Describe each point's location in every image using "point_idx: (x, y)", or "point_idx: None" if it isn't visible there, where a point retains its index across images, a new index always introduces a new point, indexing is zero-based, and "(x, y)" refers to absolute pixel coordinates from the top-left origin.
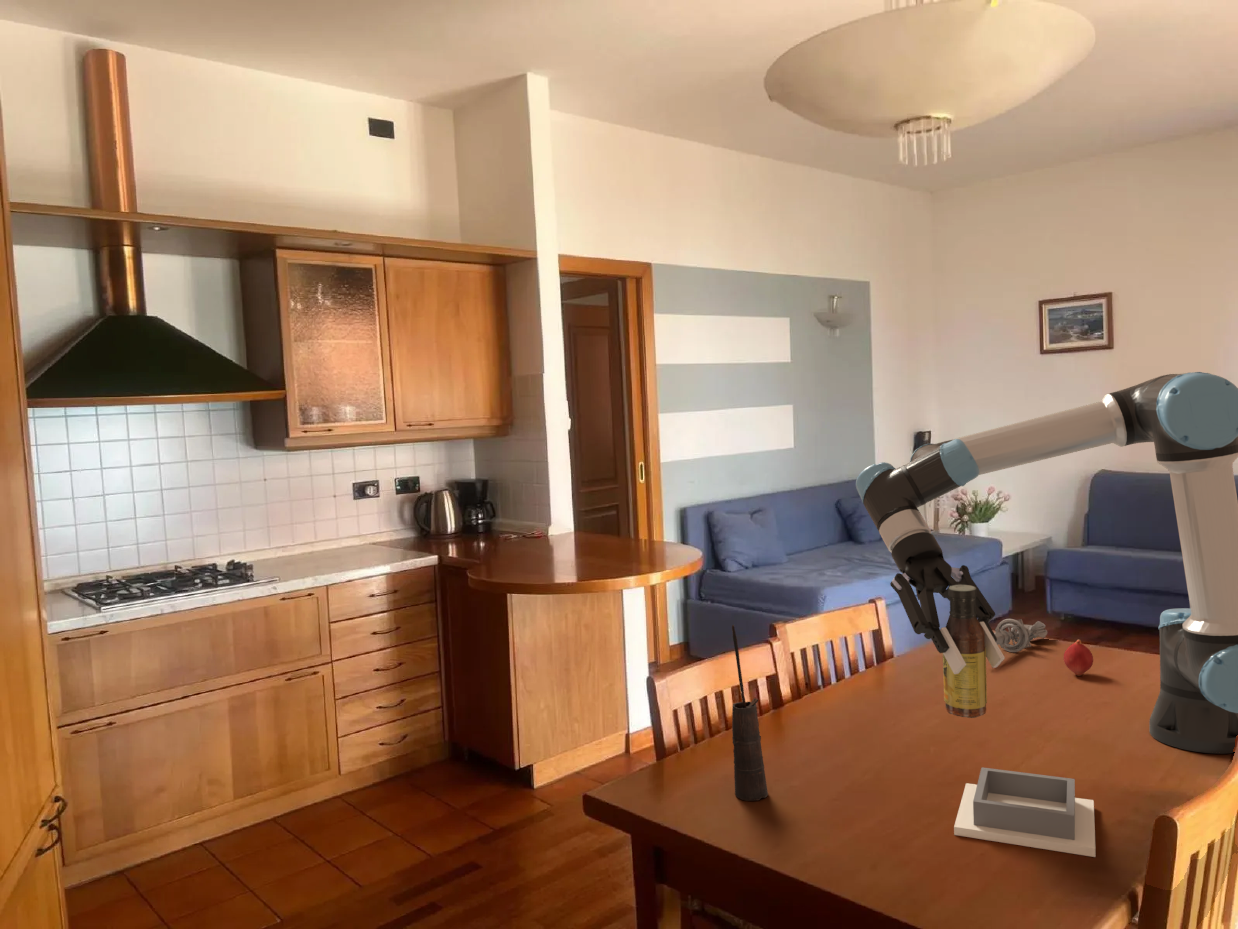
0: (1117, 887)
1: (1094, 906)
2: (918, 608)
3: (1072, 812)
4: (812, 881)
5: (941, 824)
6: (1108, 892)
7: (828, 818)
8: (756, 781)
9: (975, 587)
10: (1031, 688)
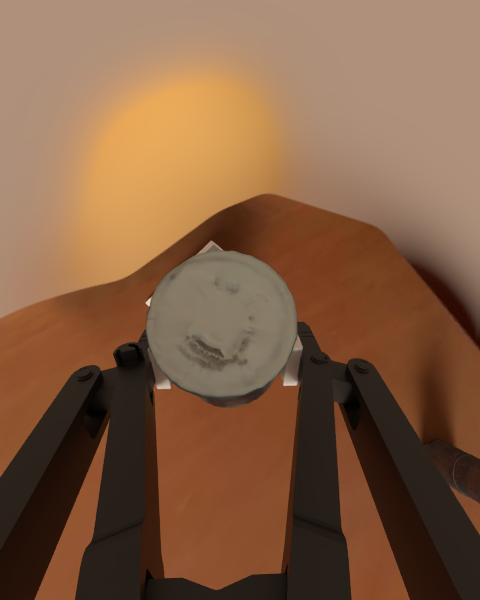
0: (229, 212)
1: (259, 201)
2: (387, 420)
3: (210, 249)
4: (422, 284)
5: None
6: (239, 209)
7: None
8: (454, 448)
9: (159, 284)
10: None
